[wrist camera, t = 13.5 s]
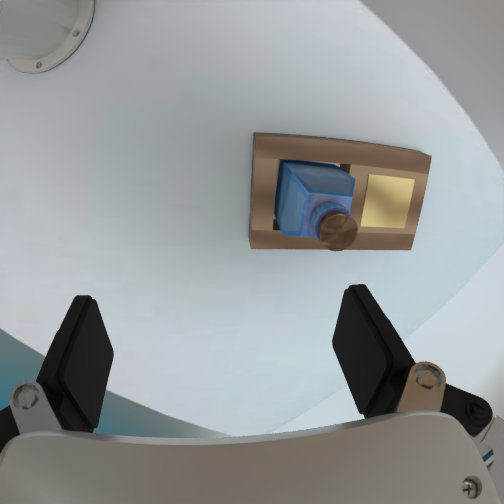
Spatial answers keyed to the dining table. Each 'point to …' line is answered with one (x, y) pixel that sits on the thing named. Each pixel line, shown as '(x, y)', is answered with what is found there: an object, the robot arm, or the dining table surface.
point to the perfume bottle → (315, 203)
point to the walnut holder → (364, 196)
